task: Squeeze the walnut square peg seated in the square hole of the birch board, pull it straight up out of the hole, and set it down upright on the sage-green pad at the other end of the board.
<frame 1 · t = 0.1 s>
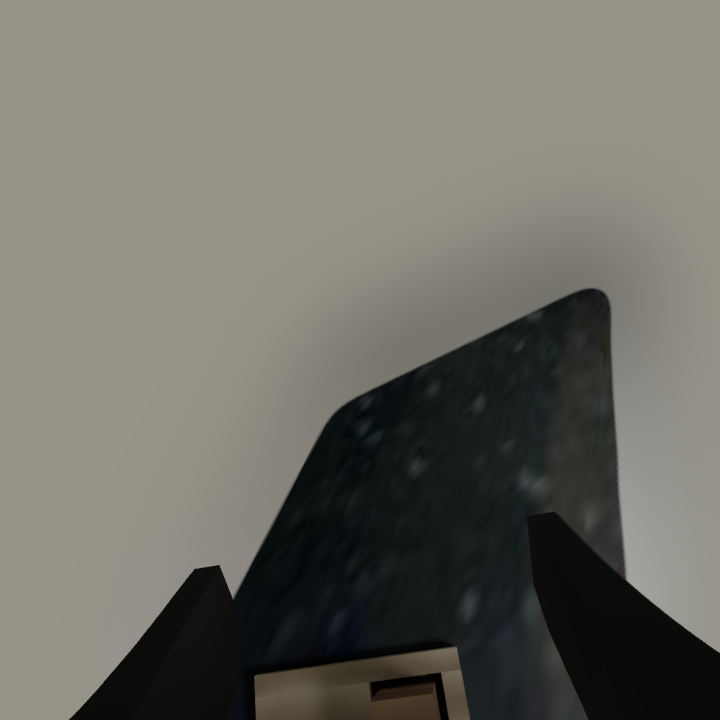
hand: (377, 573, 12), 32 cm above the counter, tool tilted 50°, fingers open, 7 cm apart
peg: (412, 717, 38), resting in board
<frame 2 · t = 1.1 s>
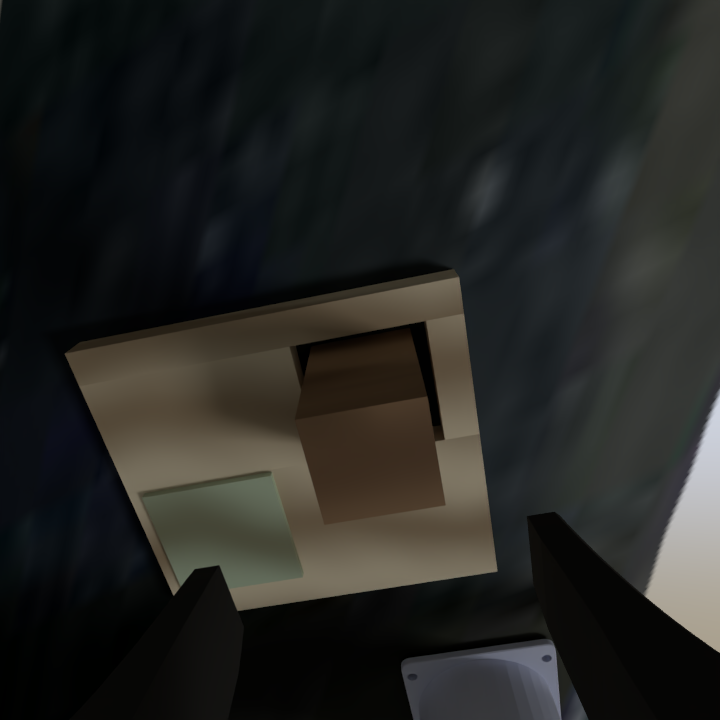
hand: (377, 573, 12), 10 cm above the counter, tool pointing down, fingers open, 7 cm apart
board: (304, 456, 23), on the counter
peg: (369, 381, 22), resting in board
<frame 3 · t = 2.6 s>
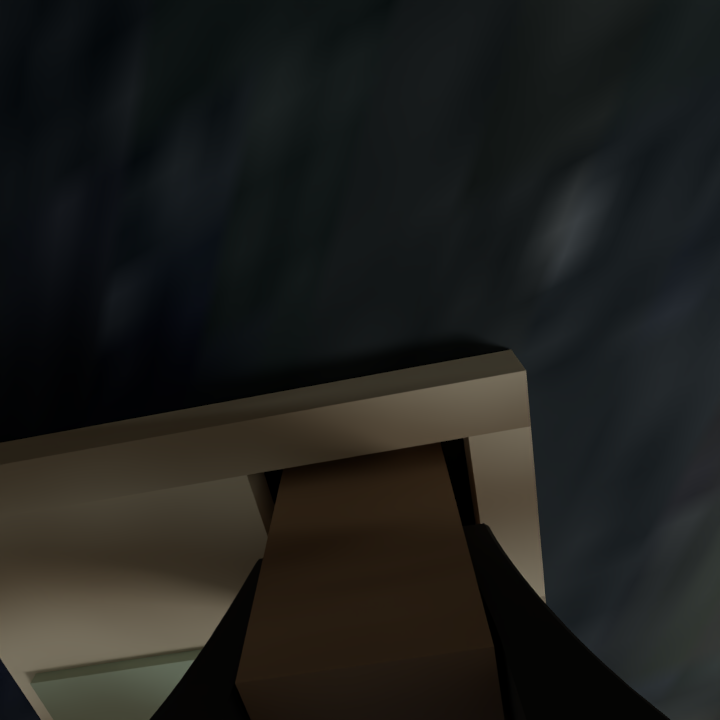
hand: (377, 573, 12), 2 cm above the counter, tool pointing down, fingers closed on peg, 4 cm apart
board: (277, 610, 16), on the counter
peg: (375, 511, 14), resting in board, touching gripper
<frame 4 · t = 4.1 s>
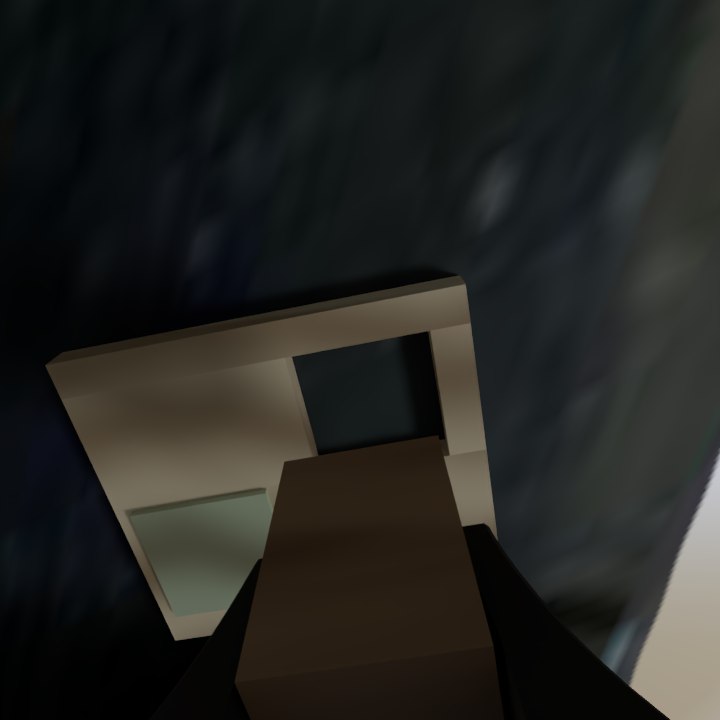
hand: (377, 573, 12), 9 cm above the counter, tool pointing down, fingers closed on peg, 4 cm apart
board: (300, 472, 22), on the counter
peg: (374, 510, 14), point 7 cm above the counter, touching gripper
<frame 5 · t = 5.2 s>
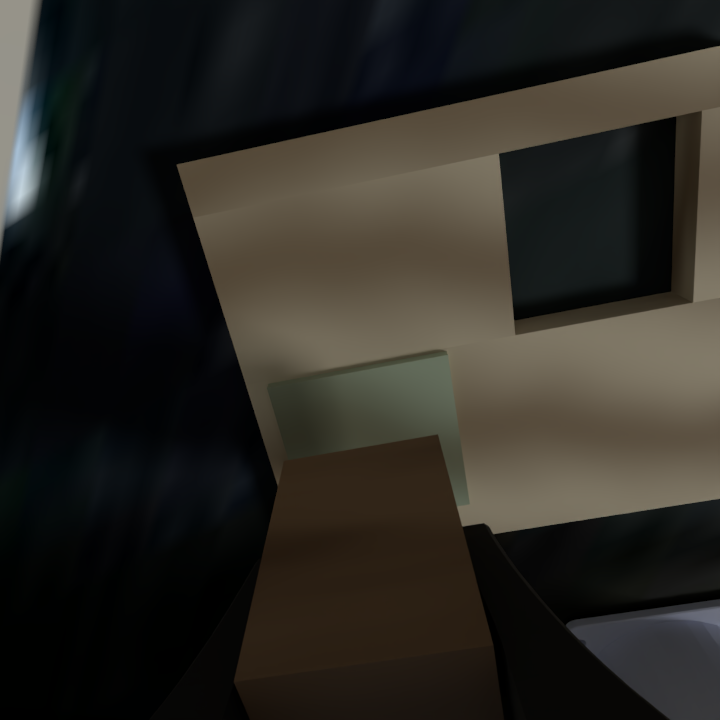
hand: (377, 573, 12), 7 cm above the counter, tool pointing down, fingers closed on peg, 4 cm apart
board: (478, 338, 17), on the counter
peg: (374, 510, 14), point 5 cm above the counter, touching gripper
when the fingers open (5 cm above the counter, at t = 6.0 s): peg stays where it is, resting on board.
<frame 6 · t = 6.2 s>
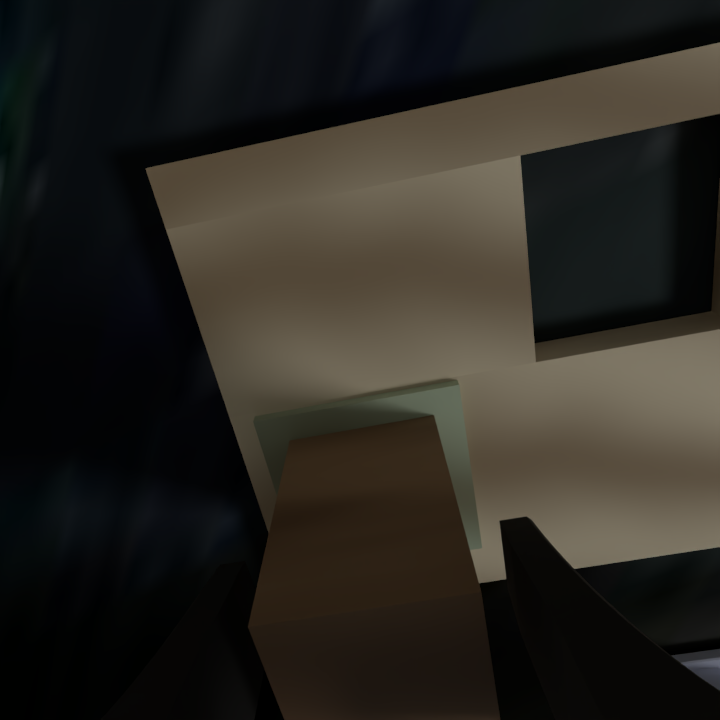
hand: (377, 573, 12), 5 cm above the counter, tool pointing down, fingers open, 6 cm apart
board: (492, 363, 15), on the counter
peg: (374, 487, 15), point 1 cm above the counter, touching board
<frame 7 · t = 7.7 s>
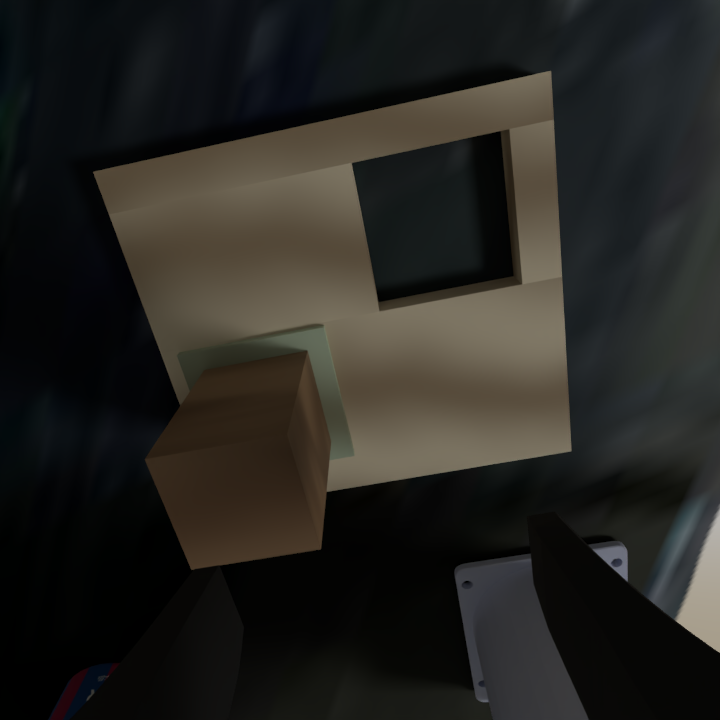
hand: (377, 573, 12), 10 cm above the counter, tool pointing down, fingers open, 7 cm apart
board: (357, 316, 21), on the counter
peg: (269, 406, 21), point 1 cm above the counter, touching board
mug: (121, 717, 30), on the counter
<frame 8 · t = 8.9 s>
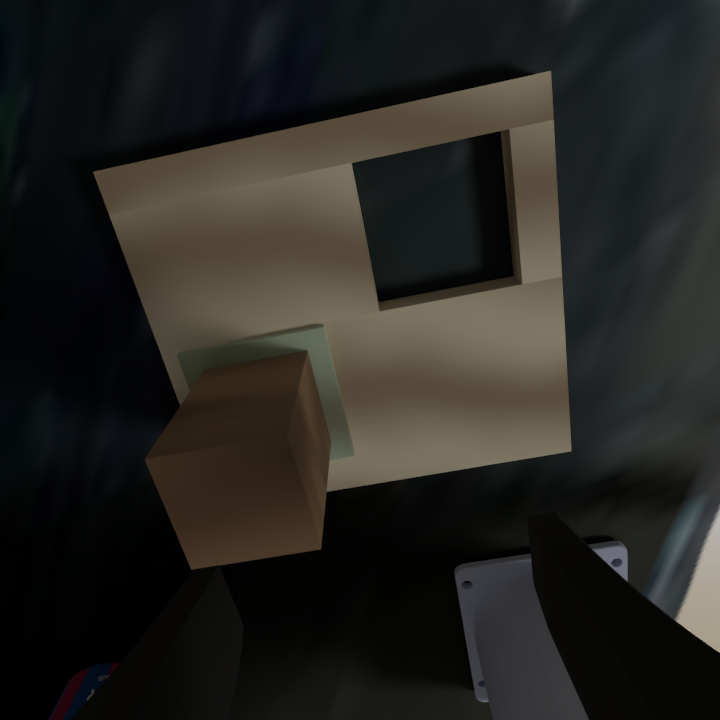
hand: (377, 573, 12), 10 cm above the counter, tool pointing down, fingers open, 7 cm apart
board: (357, 316, 21), on the counter
peg: (269, 406, 21), point 1 cm above the counter, touching board
mug: (121, 717, 30), on the counter
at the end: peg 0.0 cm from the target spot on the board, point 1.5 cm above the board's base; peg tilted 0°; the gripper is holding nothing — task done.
